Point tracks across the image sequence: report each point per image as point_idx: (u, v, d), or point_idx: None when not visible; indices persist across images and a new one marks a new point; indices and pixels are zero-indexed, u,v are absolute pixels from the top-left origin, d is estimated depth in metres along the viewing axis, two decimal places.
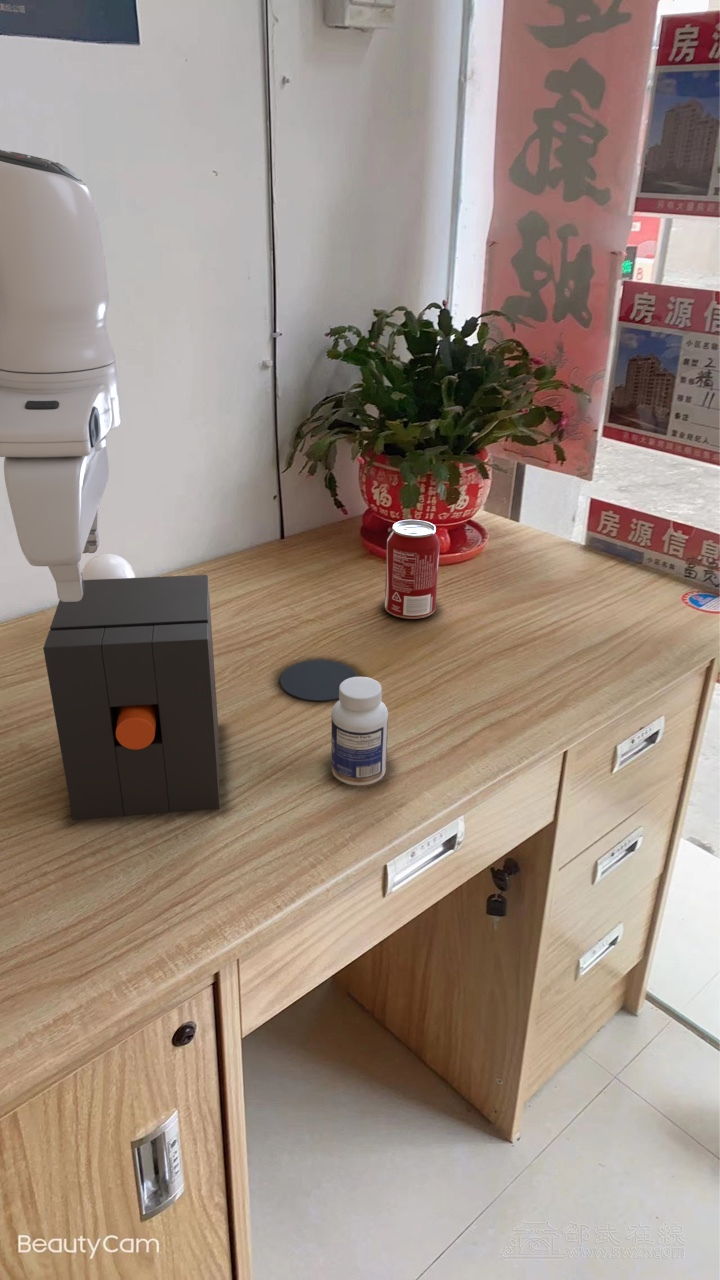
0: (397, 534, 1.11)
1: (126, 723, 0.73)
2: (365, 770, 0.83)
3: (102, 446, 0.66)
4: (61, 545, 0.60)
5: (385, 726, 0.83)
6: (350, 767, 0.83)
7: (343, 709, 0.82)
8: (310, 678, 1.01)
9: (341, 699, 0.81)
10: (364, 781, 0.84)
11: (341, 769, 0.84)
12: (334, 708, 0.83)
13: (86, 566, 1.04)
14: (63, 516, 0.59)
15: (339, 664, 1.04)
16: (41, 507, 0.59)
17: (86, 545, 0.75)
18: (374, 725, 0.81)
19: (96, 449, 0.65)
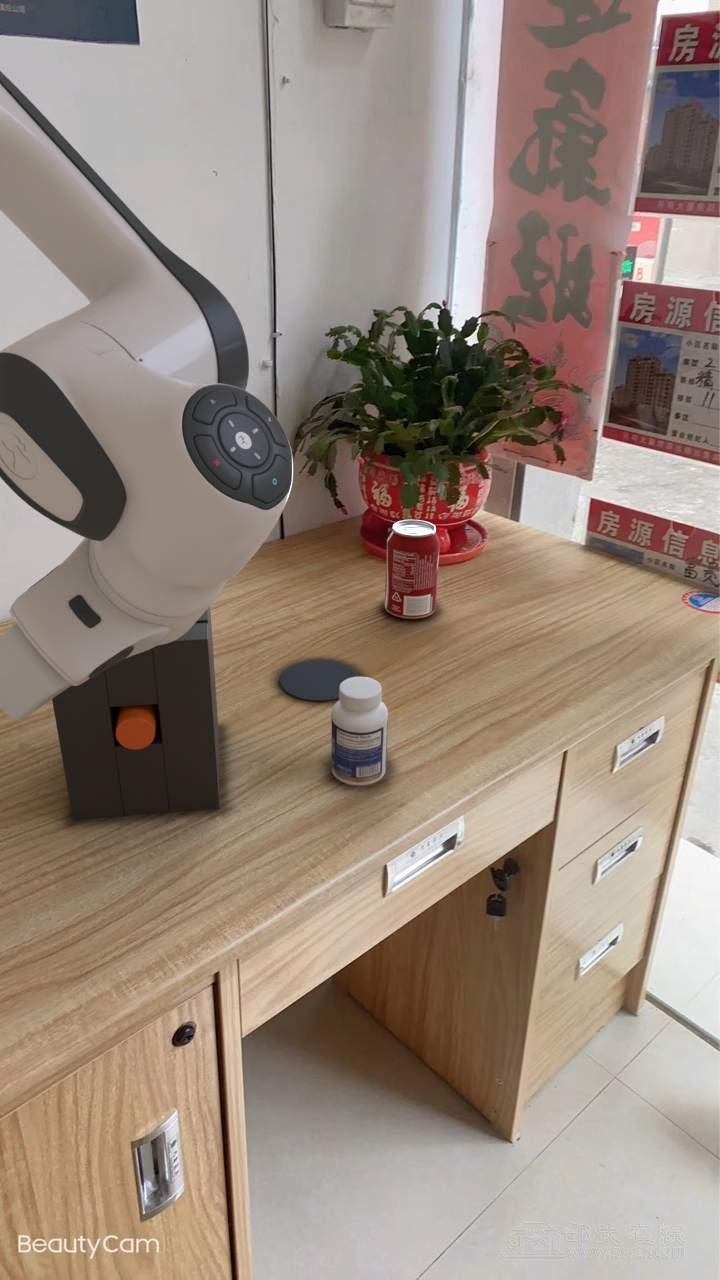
0: (397, 533, 1.11)
1: (126, 723, 0.73)
2: (366, 770, 0.83)
3: None
4: (8, 707, 0.58)
5: (385, 726, 0.83)
6: (350, 767, 0.83)
7: (343, 709, 0.82)
8: (310, 678, 1.01)
9: (341, 699, 0.81)
10: (364, 781, 0.84)
11: (341, 769, 0.84)
12: (334, 708, 0.83)
13: None
14: (21, 699, 0.57)
15: (339, 664, 1.04)
16: (10, 678, 0.56)
17: None
18: (374, 725, 0.81)
19: None
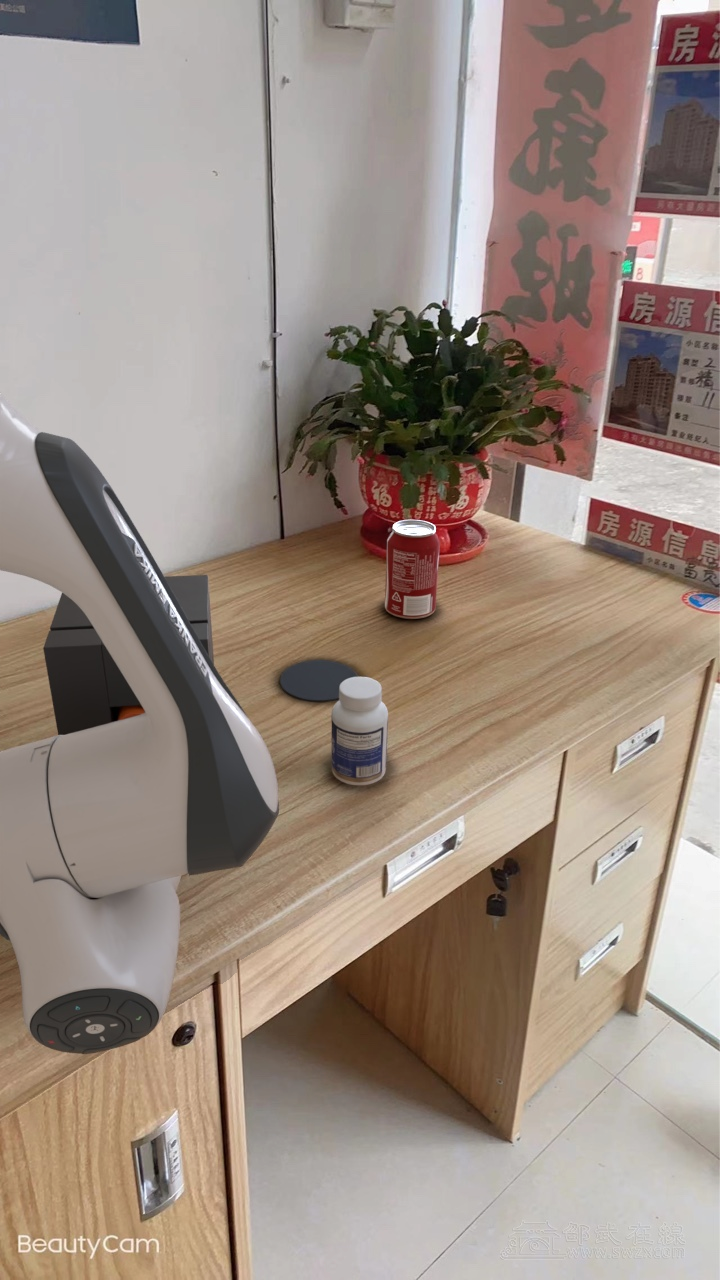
0: (397, 533, 1.11)
1: (127, 717, 0.74)
2: (365, 770, 0.83)
3: None
4: None
5: (385, 726, 0.83)
6: (350, 767, 0.83)
7: (343, 709, 0.82)
8: (310, 678, 1.01)
9: (341, 699, 0.81)
10: (364, 781, 0.84)
11: (341, 769, 0.84)
12: (334, 708, 0.83)
13: None
14: None
15: (339, 664, 1.04)
16: None
17: None
18: (374, 725, 0.81)
19: None
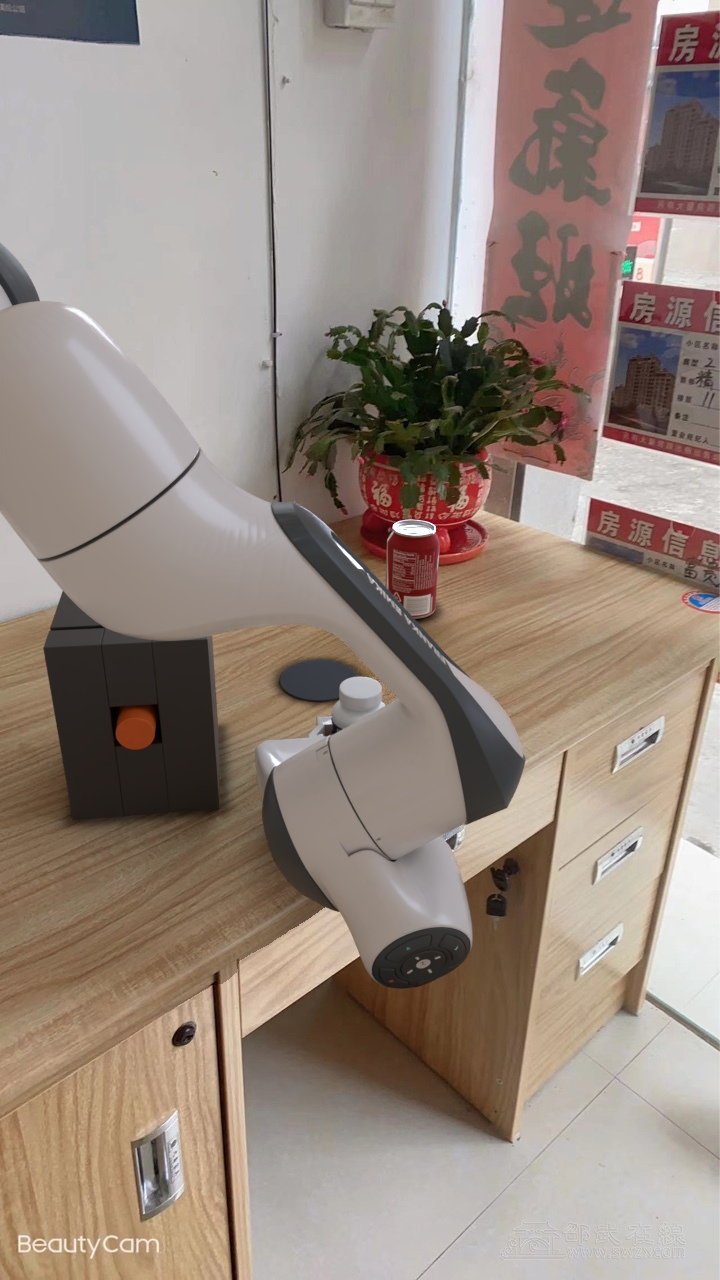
0: (397, 534, 1.11)
1: (126, 723, 0.73)
2: None
3: None
4: (256, 775, 0.78)
5: None
6: None
7: (343, 709, 0.82)
8: (310, 678, 1.01)
9: (341, 699, 0.81)
10: None
11: None
12: (334, 708, 0.83)
13: None
14: (260, 792, 0.76)
15: (339, 664, 1.04)
16: (261, 784, 0.75)
17: None
18: None
19: None
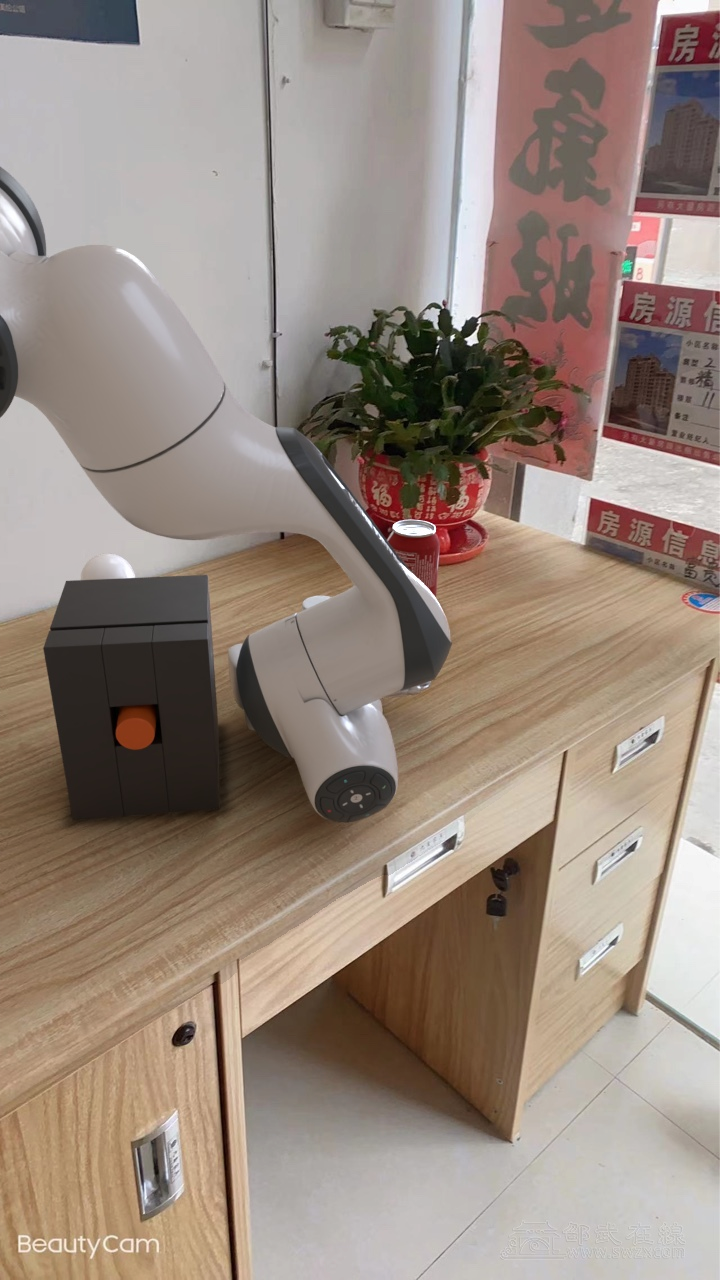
0: (397, 534, 1.11)
1: (126, 723, 0.73)
2: None
3: None
4: (229, 673, 0.92)
5: None
6: None
7: None
8: None
9: None
10: None
11: None
12: None
13: (86, 566, 1.04)
14: (231, 685, 0.91)
15: None
16: (232, 677, 0.89)
17: None
18: None
19: None
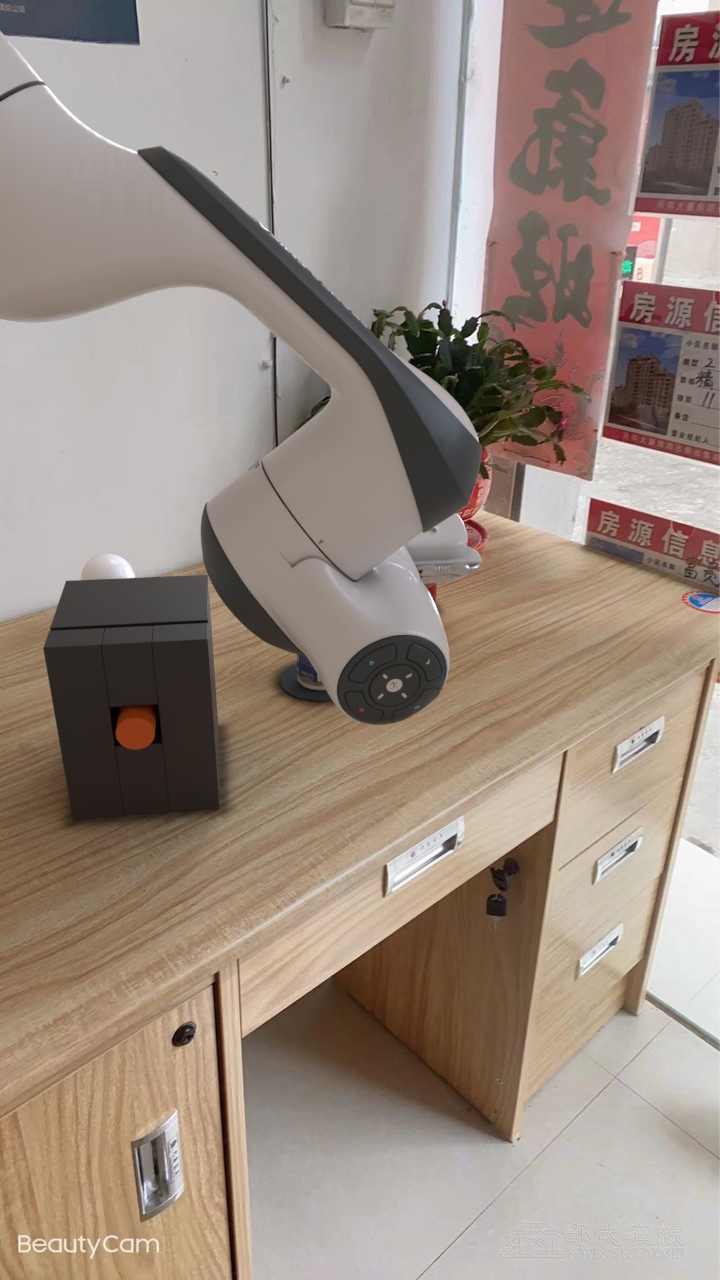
0: None
1: (126, 723, 0.73)
2: None
3: None
4: None
5: None
6: (312, 672, 0.97)
7: None
8: None
9: None
10: None
11: (305, 674, 0.98)
12: None
13: (86, 566, 1.04)
14: None
15: None
16: None
17: None
18: None
19: None
